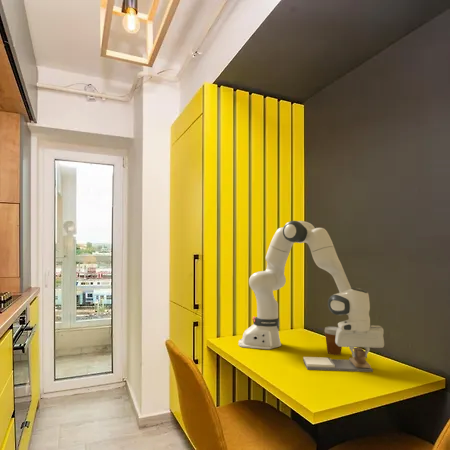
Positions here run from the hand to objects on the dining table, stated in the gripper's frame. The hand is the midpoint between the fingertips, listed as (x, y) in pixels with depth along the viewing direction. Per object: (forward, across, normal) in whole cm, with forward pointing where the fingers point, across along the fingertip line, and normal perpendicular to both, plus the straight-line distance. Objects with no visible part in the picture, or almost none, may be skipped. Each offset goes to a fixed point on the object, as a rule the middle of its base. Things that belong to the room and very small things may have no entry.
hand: (359, 357), depth 155 cm
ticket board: (+4, +10, 0) cm, 11 cm away
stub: (+3, 0, 0) cm, 3 cm away
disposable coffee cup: (+4, +6, -19) cm, 21 cm away
